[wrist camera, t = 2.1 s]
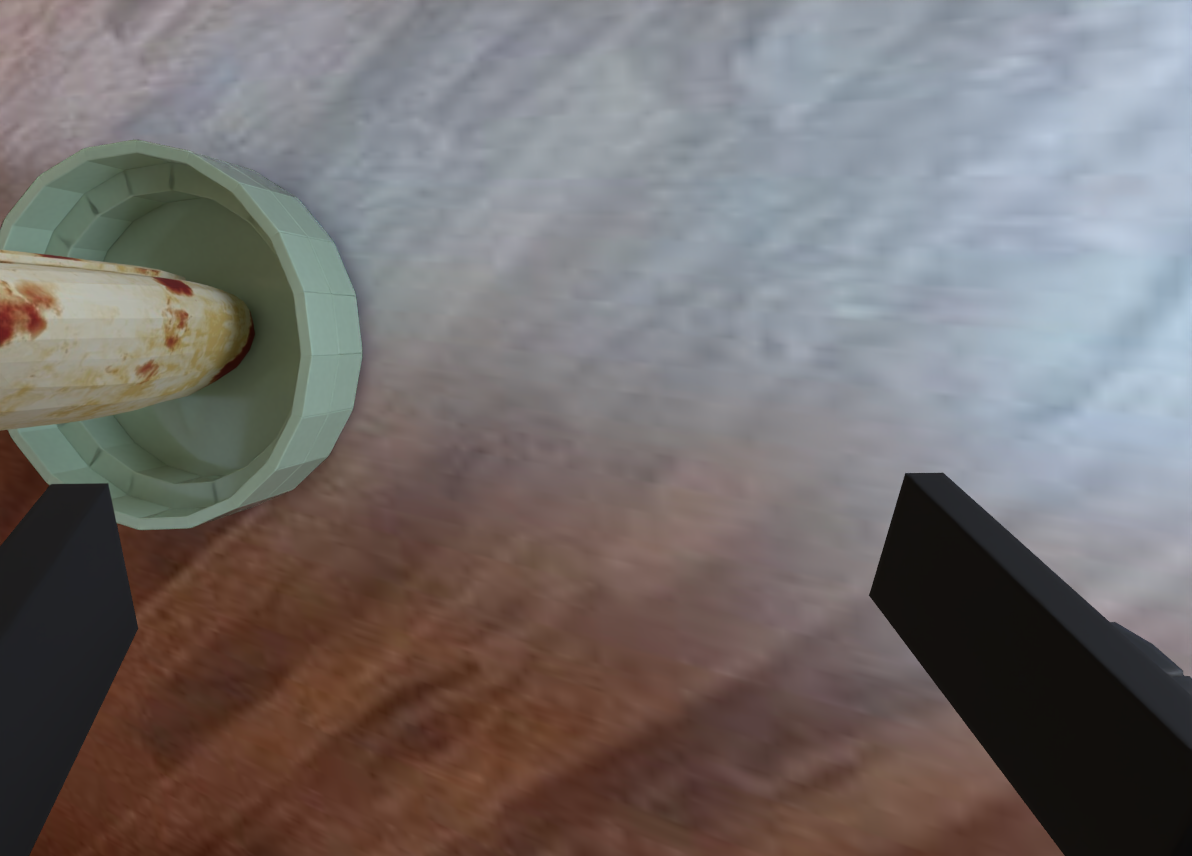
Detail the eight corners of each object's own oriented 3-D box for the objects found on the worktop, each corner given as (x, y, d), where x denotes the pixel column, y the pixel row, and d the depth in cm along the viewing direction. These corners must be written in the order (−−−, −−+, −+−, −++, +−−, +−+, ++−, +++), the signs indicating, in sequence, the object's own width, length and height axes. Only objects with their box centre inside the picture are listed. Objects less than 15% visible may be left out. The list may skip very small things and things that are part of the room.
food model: (164, 435, 44) (-324, 519, 24) (109, 325, 44) (-424, 320, 24) (304, 355, 41) (-114, 377, 22) (246, 238, 41) (-223, 157, 22)
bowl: (17, 252, 45) (-74, 243, 40) (279, 101, 40) (211, 69, 36) (147, 552, 45) (71, 579, 41) (419, 436, 41) (371, 450, 36)
